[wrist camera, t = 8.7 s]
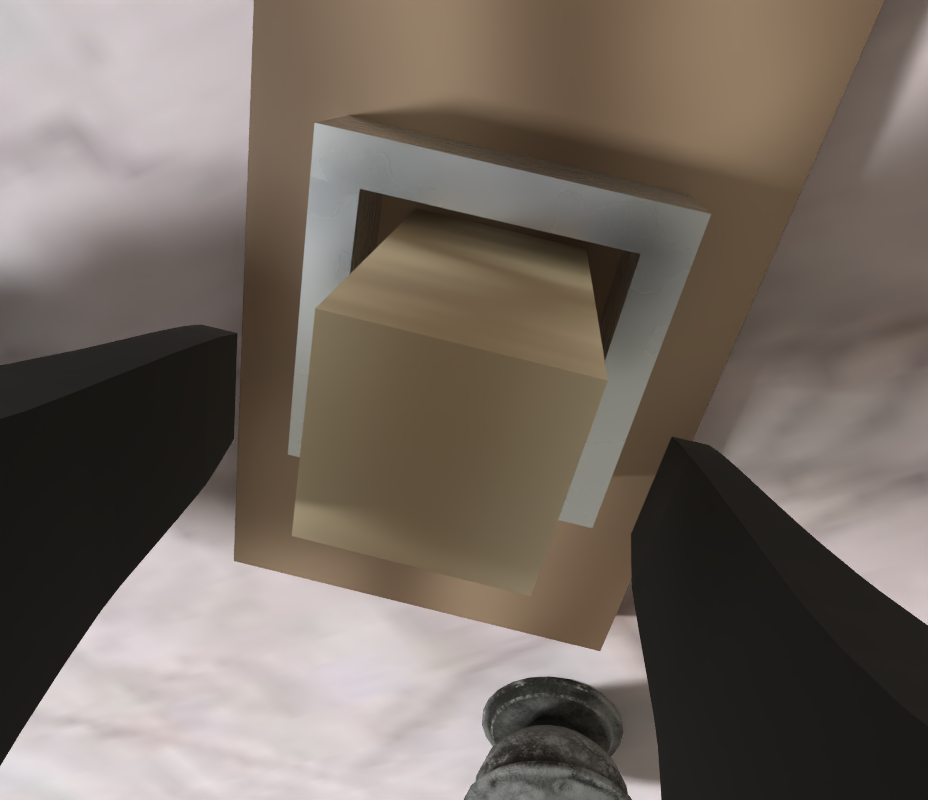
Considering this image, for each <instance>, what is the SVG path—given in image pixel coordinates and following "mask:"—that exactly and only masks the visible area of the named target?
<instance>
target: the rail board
mask: <svg viewBox="0 0 928 800" xmlns="http://www.w3.org/2000/svg"><path fill="white" fill-rule="evenodd" d="M884 1H885V0H254V16H253V44H252V72H251V100H250V128H249V156H248V183H247V211H246V239H245V267H244V295H243V322H242V350H241V378H240V406H239V434H238V462H237V489H236V517H235V545H234V561H237V562H241V563H245V564H249V565H253V566H257V567H261V568H265V569H269V570H273V571H277V572H281V573H285V574H289V575H294V576H298V577H302V578H306V579H310V580H314V581H318V582H322V583H326V584H330V585H334V586H338V587H342V588H346V589H350V590H354V591H358V592H362V593H366V594H371V595H375V596H379V597H383V598H387V599H391V600H395V601H399V602H403V603H407V604H411V605H415V606H419V607H423V608H427V609H431V610H435V611H439V612H444V613H448V614H452V615H456V616H460V617H464V618H468V619H472V620H476V621H480V622H484V623H488V624H492V625H496V626H500V627H504V628H508V629H512V630H517V631H521V632H525V633H529V634H533V635H537V636H541V637H545V638H549V639H553V640H557V641H561V642H565V643H569V644H573V645H577V646H581V647H585V648H590V649H594V650H598V651H600V650H601V648H602V646H603V643H604V641H605V639H606V636H607V634H608V632H609V630H610V627H611V625H612V623H613V620H614V618H615V616H616V614H617V611H618V609H619V607H620V604H621V602H622V600H623V598H624V595H625V593H626V591H627V588H628V586H629V584H630V582H631V579H632V574H631V533H632V530H633V528H634V526H635V523H636V521H637V518H638V516H639V514H640V511H641V509H642V507H643V504H644V502H645V499H646V497H647V495H648V492H649V490H650V487H651V485H652V483H653V480H654V478H655V475H656V473H657V471H658V468H659V466H660V463H661V461H662V459H663V456H664V454H665V451H666V449H667V447H668V444H669V442H670V439H671V437H676V438H680V439H685V440H689V441H692V440H693V438H694V435H695V433H696V431H697V428H698V426H699V424H700V421H701V419H702V417H703V415H704V412H705V410H706V408H707V405H708V403H709V401H710V399H711V396H712V394H713V392H714V389H715V387H716V385H717V383H718V380H719V378H720V376H721V373H722V371H723V369H724V367H725V364H726V362H727V360H728V357H729V355H730V353H731V351H732V348H733V346H734V344H735V341H736V339H737V337H738V335H739V332H740V330H741V328H742V325H743V323H744V321H745V319H746V316H747V314H748V312H749V309H750V307H751V305H752V303H753V300H754V298H755V296H756V293H757V291H758V289H759V287H760V284H761V282H762V280H763V277H764V275H765V273H766V271H767V268H768V266H769V264H770V261H771V259H772V257H773V255H774V252H775V250H776V248H777V245H778V243H779V241H780V239H781V236H782V234H783V232H784V229H785V227H786V225H787V223H788V220H789V218H790V216H791V213H792V211H793V209H794V206H795V204H796V202H797V200H798V197H799V195H800V193H801V190H802V188H803V186H804V184H805V181H806V179H807V177H808V174H809V172H810V170H811V168H812V165H813V163H814V161H815V158H816V156H817V154H818V152H819V149H820V147H821V145H822V142H823V140H824V138H825V136H826V133H827V131H828V129H829V126H830V124H831V122H832V120H833V117H834V115H835V113H836V110H837V108H838V106H839V104H840V101H841V99H842V97H843V94H844V92H845V90H846V88H847V85H848V83H849V81H850V78H851V76H852V74H853V72H854V69H855V67H856V65H857V62H858V60H859V58H860V56H861V53H862V51H863V49H864V46H865V44H866V42H867V40H868V37H869V35H870V33H871V30H872V28H873V26H874V24H875V21H876V19H877V17H878V14H879V12H880V10H881V7H882V5H883V3H884ZM347 115H349V116H354V117H358V118H362V119H367V120H371V121H375V122H380V123H384V124H388V125H393V126H397V127H401V128H406V129H410V130H414V131H419V132H423V133H427V134H432V135H436V136H440V137H445V138H449V139H453V140H458V141H462V142H466V143H471V144H475V145H479V146H484V147H488V148H492V149H497V150H501V151H505V152H510V153H514V154H519V155H523V156H527V157H532V158H536V159H540V160H545V161H549V162H553V163H558V164H562V165H566V166H571V167H575V168H579V169H584V170H588V171H592V172H597V173H601V174H605V175H610V176H614V177H618V178H623V179H627V180H631V181H636V182H640V183H644V184H649V185H653V186H657V187H662V188H666V189H670V190H675V191H679V192H683V193H688V194H690V195H691V196H692V197H693V198H694V199H696V200H697V201H698V202H699V203H700V204H701V205H702V206H703V207H704V208H705V209H706V210H707V211H708V212H709V213H710V214H711V216H710V219H709V221H708V224H707V227H706V229H705V232H704V235H703V237H702V240H701V242H700V245H699V248H698V250H697V253H696V256H695V258H694V261H693V264H692V266H691V269H690V272H689V274H688V277H687V279H686V282H685V285H684V287H683V290H682V293H681V295H680V298H679V301H678V303H677V306H676V309H675V311H674V314H673V316H672V319H671V322H670V324H669V327H668V330H667V332H666V335H665V338H664V340H663V343H662V346H661V348H660V351H659V353H658V356H657V359H656V361H655V364H654V367H653V369H652V372H651V375H650V377H649V380H648V383H647V385H646V388H645V390H644V393H643V396H642V398H641V401H640V404H639V406H638V409H637V412H636V414H635V417H634V420H633V422H632V425H631V427H630V430H629V433H628V435H627V438H626V441H625V443H624V446H623V449H622V451H621V454H620V457H619V459H618V462H617V464H616V467H615V470H614V472H613V475H612V478H611V480H610V483H609V486H608V488H607V491H606V494H605V496H604V499H603V502H602V504H601V507H600V509H599V512H598V515H597V517H596V520H595V523H594V525H593V528H589V527H585V526H581V525H577V524H573V523H569V522H564V521H560V520H558V522H557V525H556V528H555V530H554V533H553V536H552V539H551V542H550V544H549V547H548V550H547V553H546V556H545V558H544V561H543V564H542V567H541V570H540V572H539V575H538V578H537V581H536V584H535V586H534V589H533V592H532V595H531V596H527V595H523V594H519V593H515V592H511V591H507V590H503V589H499V588H495V587H491V586H488V585H484V584H480V583H476V582H472V581H468V580H464V579H460V578H456V577H452V576H448V575H444V574H440V573H436V572H432V571H428V570H424V569H420V568H416V567H413V566H409V565H405V564H401V563H397V562H393V561H389V560H385V559H381V558H377V557H373V556H369V555H365V554H361V553H357V552H353V551H349V550H345V549H341V548H338V547H334V546H330V545H326V544H322V543H318V542H314V541H310V540H306V539H302V538H298V537H294V536H292V528H293V519H294V509H295V499H296V490H297V480H298V470H299V461H300V457H296V456H292V455H288V445H289V433H290V420H291V408H292V396H293V383H294V371H295V358H296V346H297V334H298V321H299V309H300V296H301V284H302V272H303V259H304V247H305V234H306V222H307V210H308V197H309V185H310V172H311V160H312V148H313V135H314V123H315V122H319V121H324V120H329V119H333V118H338V117H342V116H347ZM416 208H418V209H422V210H426V211H430V212H434V213H439V214H443V215H447V216H451V217H455V218H459V219H463V220H467V221H471V222H475V223H480V224H484V225H488V226H492V227H496V228H500V229H504V230H508V231H512V232H516V233H520V234H525V235H529V236H533V237H537V238H541V239H545V240H549V241H553V242H557V243H561V244H566V245H570V246H574V247H578V248H582V249H586V250H587V256H588V262H589V268H590V274H591V280H592V286H593V292H594V299H595V305H596V311H597V317H598V323H599V322H600V319H601V316H602V313H603V310H604V307H605V304H606V301H607V298H608V294H609V291H610V288H611V285H612V282H613V279H614V276H615V273H616V270H617V266H618V263H619V260H620V257H621V254H622V251H623V250H621V249H617V248H613V247H608V246H604V245H600V244H595V243H591V242H587V241H583V240H578V239H574V238H570V237H565V236H561V235H557V234H552V233H548V232H544V231H540V230H535V229H531V228H527V227H522V226H518V225H514V224H510V223H505V222H501V221H497V220H492V219H488V218H484V217H479V216H475V215H471V214H467V213H462V212H458V211H454V210H449V209H445V208H441V207H437V206H432V205H428V204H424V203H419V202H415V201H411V200H406V199H402V198H398V197H394V196H389V195H385V194H383V200H382V208H381V215H380V223H379V230H378V238H377V245H376V248H377V247H378V246H379V245H380V244H381V243H382V242H383V241H384V240H385V239H386V238H387V237H388V236H389V235H390V234H391V233H392V232H393V231H394V230H395V229H396V228H397V227H398V226H399V225H400V224H401V223H402V222H403V221H404V220H405V219H406V218H407V217H408V216H409V215H410V214H411V213H412V212H413V211H414V210H415V209H416Z"/></svg>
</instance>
